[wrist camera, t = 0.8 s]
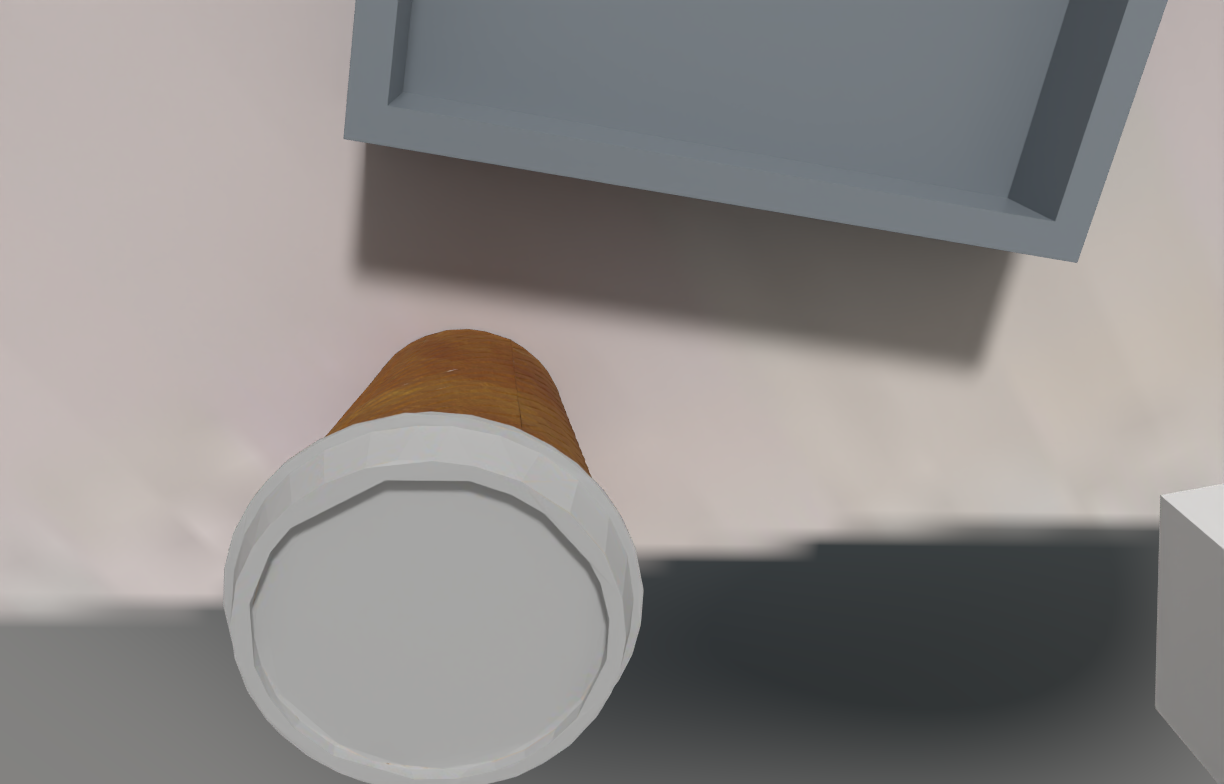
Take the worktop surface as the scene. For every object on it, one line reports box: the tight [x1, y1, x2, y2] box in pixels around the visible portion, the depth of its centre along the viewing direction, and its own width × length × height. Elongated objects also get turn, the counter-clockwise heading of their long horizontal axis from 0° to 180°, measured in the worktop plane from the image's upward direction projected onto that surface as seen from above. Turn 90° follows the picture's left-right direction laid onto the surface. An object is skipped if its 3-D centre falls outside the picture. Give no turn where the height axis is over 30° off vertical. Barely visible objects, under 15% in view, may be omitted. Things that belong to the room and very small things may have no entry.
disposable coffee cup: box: [223, 329, 643, 784], centre depth 29 cm, size 10×10×12 cm
